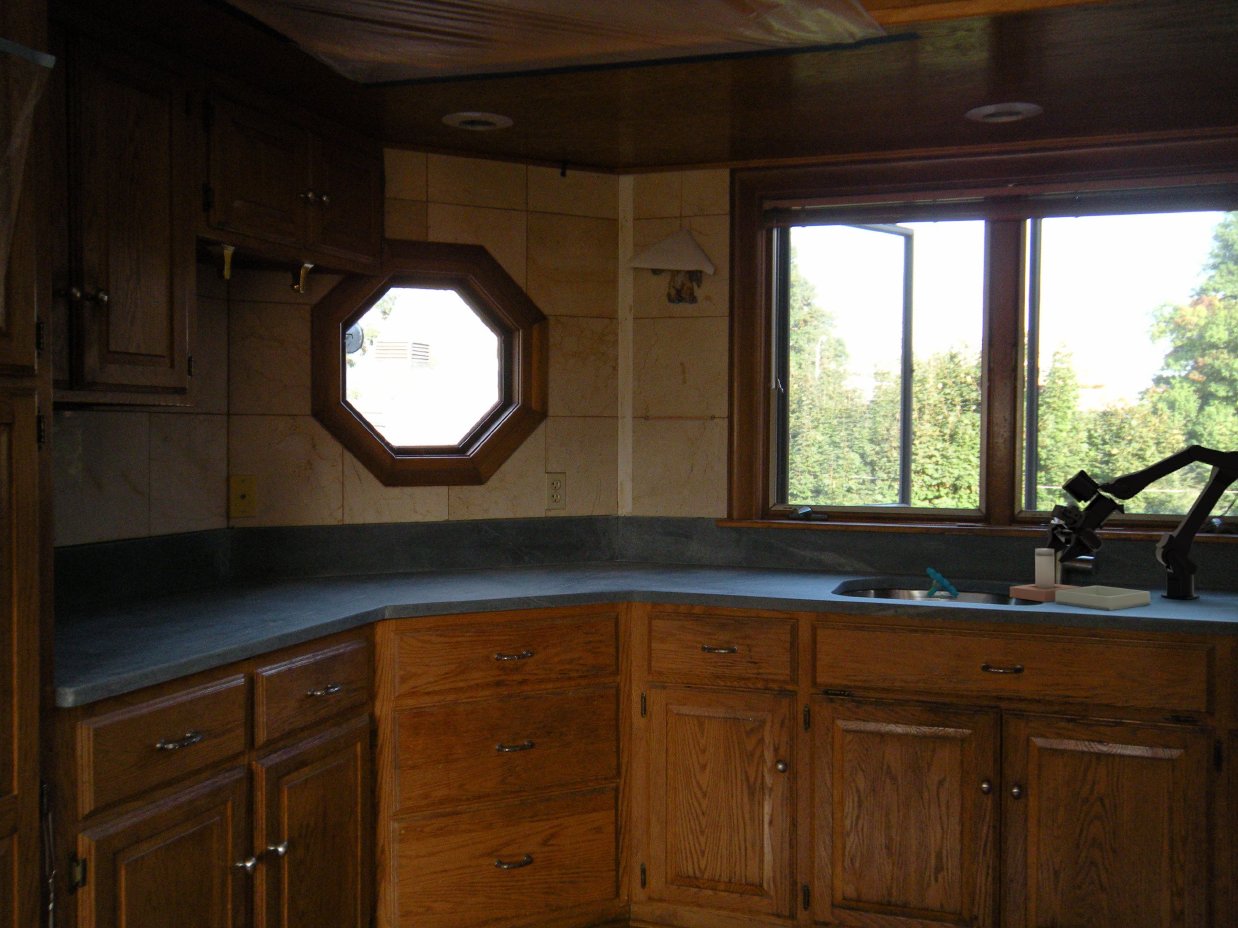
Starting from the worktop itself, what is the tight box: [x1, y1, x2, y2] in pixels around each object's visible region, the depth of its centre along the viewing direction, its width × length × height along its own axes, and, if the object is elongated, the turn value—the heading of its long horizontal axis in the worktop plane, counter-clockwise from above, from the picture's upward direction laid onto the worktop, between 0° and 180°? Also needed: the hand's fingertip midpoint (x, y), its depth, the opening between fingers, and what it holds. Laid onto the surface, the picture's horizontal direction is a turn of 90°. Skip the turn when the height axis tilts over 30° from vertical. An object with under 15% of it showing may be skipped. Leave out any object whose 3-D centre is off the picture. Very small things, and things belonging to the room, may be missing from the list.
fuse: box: [1034, 547, 1055, 589], centre depth 260 cm, size 4×4×12 cm
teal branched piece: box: [926, 567, 960, 598], centre depth 262 cm, size 11×6×10 cm
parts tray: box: [1054, 585, 1151, 611], centre depth 247 cm, size 16×14×3 cm
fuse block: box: [1009, 583, 1081, 603], centre depth 260 cm, size 14×10×2 cm
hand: (1050, 560), depth 260 cm, fingers open, 9 cm apart
